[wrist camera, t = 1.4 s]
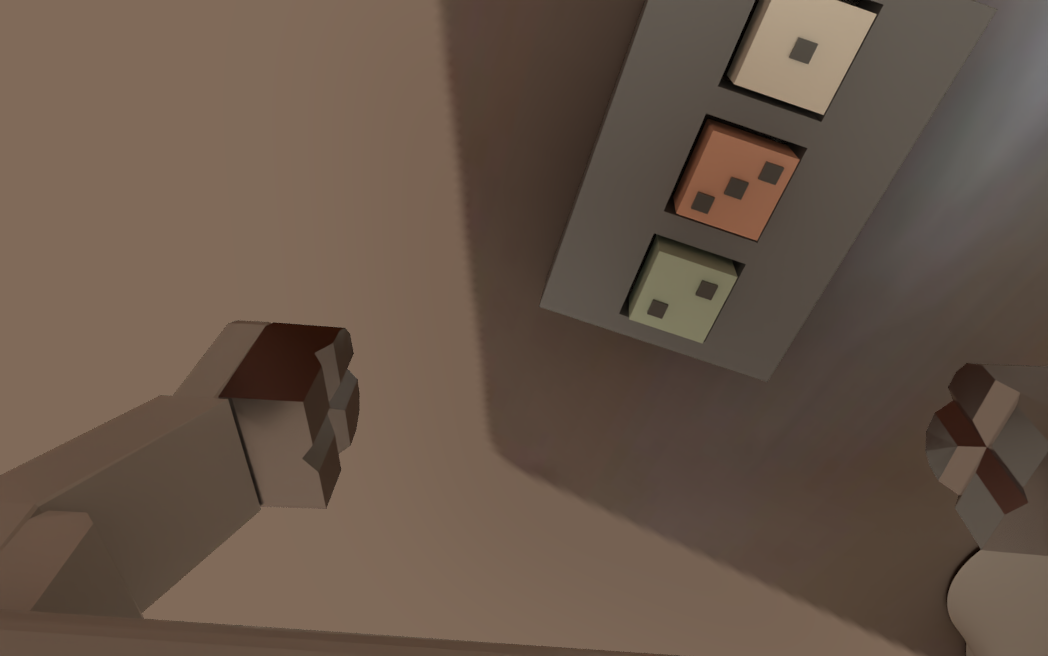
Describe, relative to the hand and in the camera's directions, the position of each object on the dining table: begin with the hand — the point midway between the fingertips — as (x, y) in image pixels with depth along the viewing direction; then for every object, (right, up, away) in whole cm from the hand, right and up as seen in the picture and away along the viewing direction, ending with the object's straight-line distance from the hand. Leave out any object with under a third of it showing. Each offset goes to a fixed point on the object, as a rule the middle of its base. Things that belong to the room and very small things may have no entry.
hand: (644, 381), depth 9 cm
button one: (+10, +13, +19) cm, 25 cm away
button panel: (+8, +9, +24) cm, 27 cm away
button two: (+7, +3, +26) cm, 27 cm away
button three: (+8, +8, +22) cm, 25 cm away
